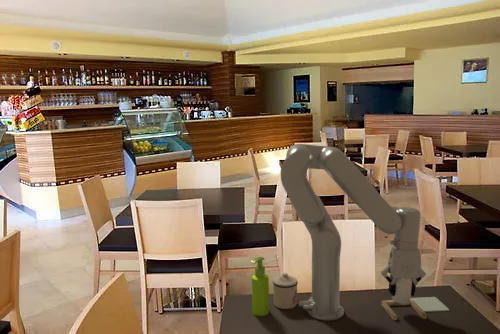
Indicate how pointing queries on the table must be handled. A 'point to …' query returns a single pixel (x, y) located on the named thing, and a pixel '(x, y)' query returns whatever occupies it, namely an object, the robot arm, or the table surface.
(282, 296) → the teacup with lid
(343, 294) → the table surface
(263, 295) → the soap dispenser
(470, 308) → the table surface
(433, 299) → the sage tile
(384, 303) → the oak stall
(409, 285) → the labeled white canister
